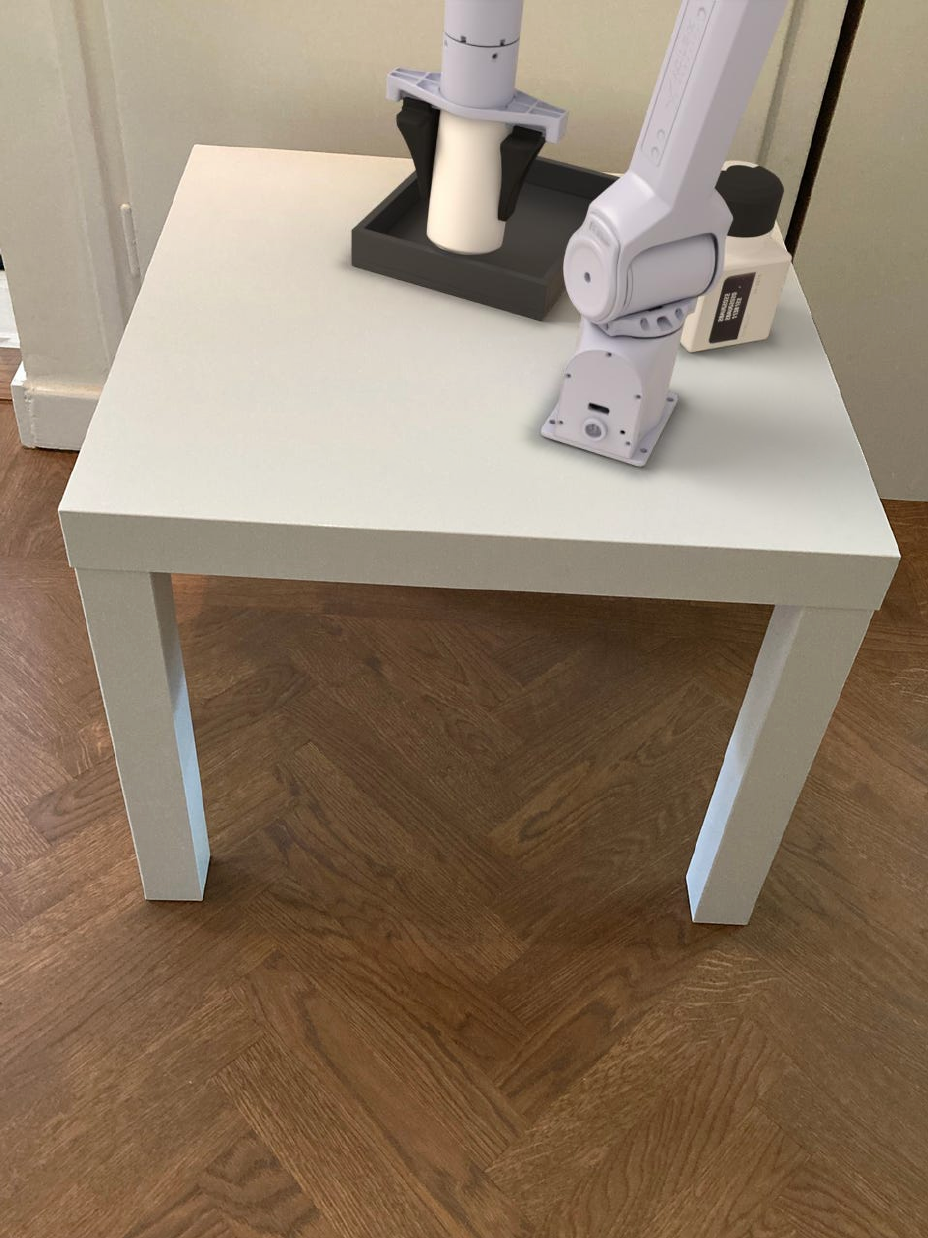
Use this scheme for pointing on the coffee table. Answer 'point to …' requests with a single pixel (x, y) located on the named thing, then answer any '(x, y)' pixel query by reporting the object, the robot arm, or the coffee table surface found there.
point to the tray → (503, 279)
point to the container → (743, 264)
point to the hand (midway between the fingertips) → (467, 204)
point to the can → (466, 186)
